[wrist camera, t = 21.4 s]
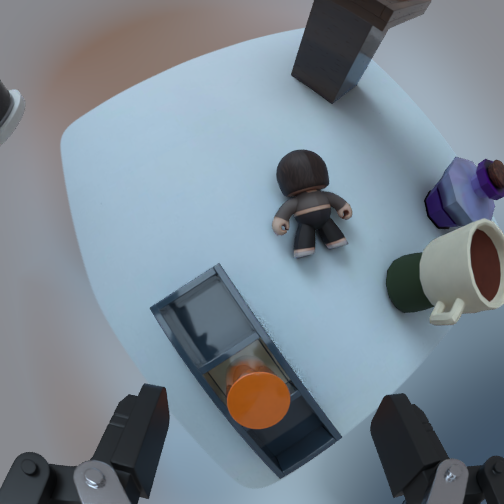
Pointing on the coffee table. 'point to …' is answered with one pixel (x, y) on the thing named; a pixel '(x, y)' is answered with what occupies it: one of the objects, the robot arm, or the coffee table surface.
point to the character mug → (452, 274)
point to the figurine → (308, 202)
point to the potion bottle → (465, 193)
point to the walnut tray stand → (346, 41)
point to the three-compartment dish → (231, 347)
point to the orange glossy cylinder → (255, 393)
